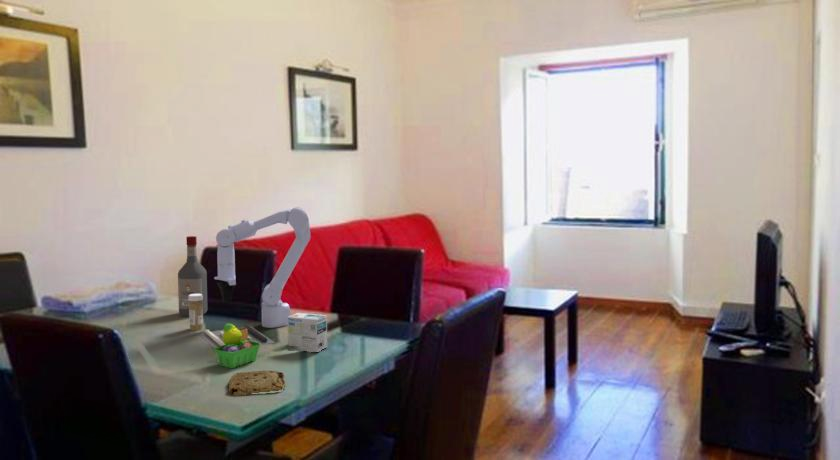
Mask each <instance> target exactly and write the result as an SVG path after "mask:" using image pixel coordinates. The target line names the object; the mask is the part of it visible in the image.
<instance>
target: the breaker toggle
mask: <svg viewBox="0 0 840 460" xmlns="http://www.w3.org/2000/svg"><path fill="white" fill-rule="evenodd" d="M236 328H237V329H238V330H239V331H240V332H241V333H242V337H241V340H248V329H247V328H245V327H244V326H240V327H236Z"/></svg>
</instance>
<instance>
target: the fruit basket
mask: <svg viewBox="0 0 840 460" xmlns="http://www.w3.org/2000/svg"><path fill="white" fill-rule="evenodd" d="M237 328H238V327H236V326H235V324H232V323H226V324H225V325H224V326H223V329H222V330H223V337H222V338H223V342H224V343H225V345H223V346H220V347H217V348H215V349H214V348H213V350H214V352H215V353H216V357H217V360H218V363H219V366H222V367H226V368H230V369H234V368H237V367H240V366H243V365H245V364H244V363H246V364H248V362H249V363H251V362H250V361H252V362H255V361H256V360H257V359H256V358H257V356H258V351H259V348H260V346H261V345H260V343H257V342H253V341H248V340H241V337H242V333H241V332H240V331H239V330H238V329H237ZM254 360H255V361H254ZM242 364H243V365H242ZM239 365H240V366H239ZM236 366H237V367H236Z"/></svg>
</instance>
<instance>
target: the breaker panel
mask: <svg viewBox="0 0 840 460" xmlns="http://www.w3.org/2000/svg"><path fill="white" fill-rule="evenodd" d="M248 326H249V325H248ZM249 327H251V328H252V329H254V330H255V331H257V332H258V333H260V334H261V335H263V336H264V337H266V338H267V339H268V340H267V342H263V341H262V340H261V339H259V338H258V337H256V336H255V335H253V334H252V333H251V332H249V331H248V341H253V342H257V343H260V346H264V345H268V344H270V345H271V344H275V343H276V342H275V341H273V340H272V339H271V338H269V337H268V336H266V335H265V334H263V333H262V332H260V331H259V330H257V329H256V328H254V327H253V326H249ZM223 330H224V329H220V330H212V331H210V332H212V333H213V334H214V335H215V336H216V337H218V338H219V339H220V340H221V341H222V342H223V338H222V337H223ZM197 334H198V335H199V336H200V337H201V338H202V339H203V340H205V342H207V343H208V344H209V345H210V346H211V347H212V348H213V350H214V349H215V348H217V347H220V345H218V344H217V343H216V342H215V341H214V340H213V339H212V338H210V337H209V336H208V335H207V334H206V333H205V331H204V332H198V333H197ZM223 343H224V342H223Z"/></svg>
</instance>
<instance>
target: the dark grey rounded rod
mask: <svg viewBox="0 0 840 460" xmlns="http://www.w3.org/2000/svg"><path fill="white" fill-rule="evenodd" d="M243 327H245V328H247V329H248V331H249V332H251V333H252V334H253V335H255V336H256V337H258V338H259V339H261V340H262V341H263V342H267V340H268V339H267V338H266V337H267V336H266V337H264V336H263V335H264V334H263V335H261V334H260V333H261V332H260V333H258V332H257V331H258V330H257V331H255V330H254V329H255V328H254V329H252V328H251V327H252V326H251V327H249V325H248V324H244V325H243Z"/></svg>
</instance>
